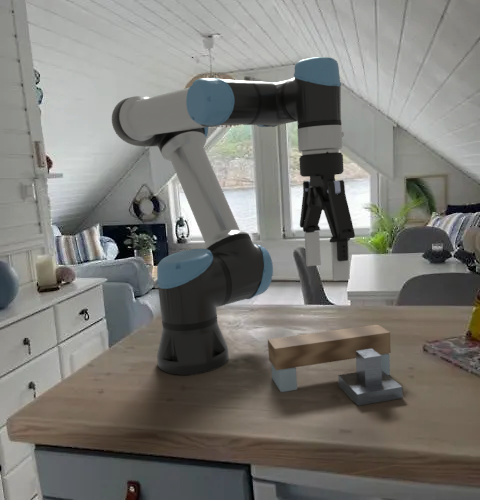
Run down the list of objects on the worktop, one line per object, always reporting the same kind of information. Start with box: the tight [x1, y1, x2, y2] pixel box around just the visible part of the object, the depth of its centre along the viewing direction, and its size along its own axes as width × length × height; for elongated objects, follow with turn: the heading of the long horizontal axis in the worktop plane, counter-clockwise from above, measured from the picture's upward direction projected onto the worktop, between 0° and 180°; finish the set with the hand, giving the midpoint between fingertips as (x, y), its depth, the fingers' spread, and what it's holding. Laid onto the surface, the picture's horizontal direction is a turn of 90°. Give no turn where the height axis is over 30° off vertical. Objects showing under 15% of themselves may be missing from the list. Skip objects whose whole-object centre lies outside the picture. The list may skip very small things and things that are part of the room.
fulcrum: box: [338, 349, 404, 407], centre depth 84 cm, size 8×8×7 cm
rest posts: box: [270, 353, 391, 393], centre depth 92 cm, size 21×6×4 cm, turn 101°
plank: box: [267, 324, 392, 370], centre depth 91 cm, size 22×5×4 cm, turn 101°
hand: (326, 272), depth 89 cm, fingers open, 13 cm apart
